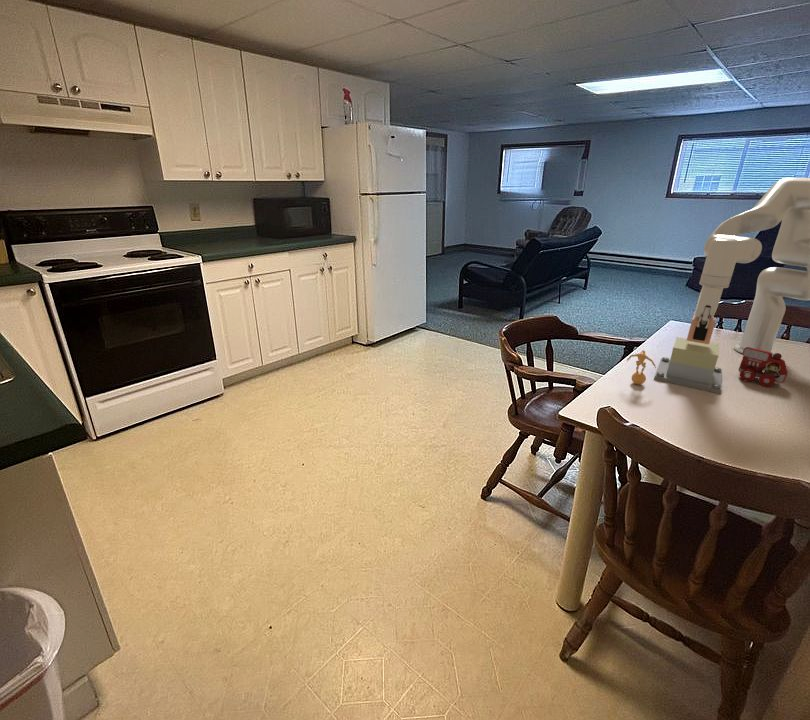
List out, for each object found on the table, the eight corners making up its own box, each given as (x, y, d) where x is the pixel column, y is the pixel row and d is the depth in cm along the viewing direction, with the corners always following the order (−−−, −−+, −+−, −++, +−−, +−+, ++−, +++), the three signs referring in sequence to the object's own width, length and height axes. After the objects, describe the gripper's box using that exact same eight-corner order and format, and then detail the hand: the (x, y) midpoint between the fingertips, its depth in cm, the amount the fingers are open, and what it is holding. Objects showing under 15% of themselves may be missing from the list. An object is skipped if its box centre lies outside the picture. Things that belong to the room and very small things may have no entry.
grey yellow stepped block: (660, 361, 156) (667, 332, 152) (720, 373, 147) (730, 343, 143) (653, 379, 142) (661, 348, 138) (720, 393, 133) (730, 361, 129)
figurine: (653, 385, 138) (662, 350, 133) (647, 392, 134) (656, 355, 129) (625, 378, 143) (633, 343, 138) (619, 384, 139) (627, 348, 134)
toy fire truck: (779, 390, 135) (791, 359, 131) (732, 378, 144) (741, 348, 140) (784, 384, 140) (795, 354, 136) (738, 372, 148) (747, 343, 144)
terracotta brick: (687, 335, 143) (693, 314, 141) (709, 339, 140) (715, 318, 138) (686, 340, 139) (692, 319, 136) (708, 344, 136) (715, 322, 133)
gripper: (701, 274, 141) (687, 327, 148) (698, 284, 128) (683, 342, 135) (729, 277, 137) (713, 331, 144) (730, 287, 124) (712, 347, 131)
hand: (699, 336), depth 139 cm, fingers closed on terracotta brick, 6 cm apart
